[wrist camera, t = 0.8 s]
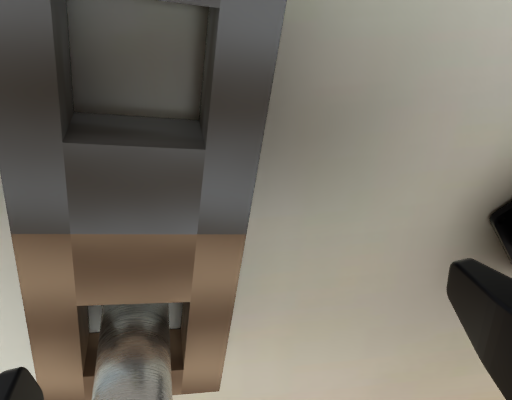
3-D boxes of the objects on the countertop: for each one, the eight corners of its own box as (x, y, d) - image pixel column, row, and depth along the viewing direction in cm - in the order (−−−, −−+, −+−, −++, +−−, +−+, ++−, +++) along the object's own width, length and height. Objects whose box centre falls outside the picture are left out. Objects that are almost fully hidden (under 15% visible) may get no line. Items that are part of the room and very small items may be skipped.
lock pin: (190, 297, 26) (207, 472, 18) (136, 335, 27) (129, 518, 19) (136, 257, 24) (129, 438, 16) (79, 300, 25) (44, 493, 17)
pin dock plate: (213, 350, 30) (219, 391, 27) (51, 360, 27) (41, 406, 25) (275, -63, 17) (296, -58, 15) (-17, -114, 15) (-51, -117, 12)
